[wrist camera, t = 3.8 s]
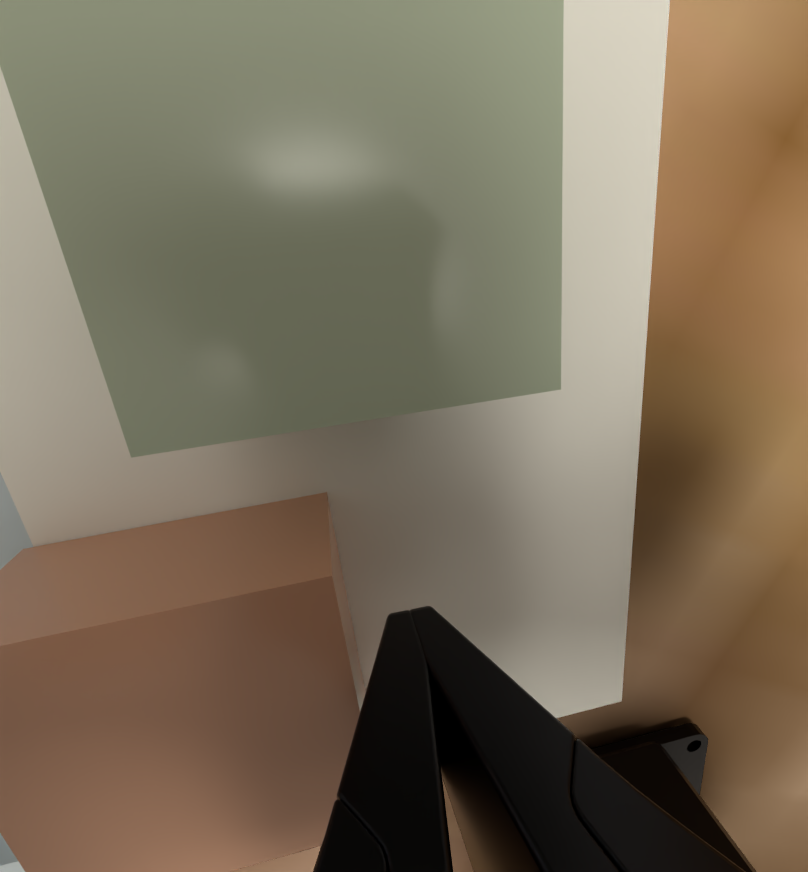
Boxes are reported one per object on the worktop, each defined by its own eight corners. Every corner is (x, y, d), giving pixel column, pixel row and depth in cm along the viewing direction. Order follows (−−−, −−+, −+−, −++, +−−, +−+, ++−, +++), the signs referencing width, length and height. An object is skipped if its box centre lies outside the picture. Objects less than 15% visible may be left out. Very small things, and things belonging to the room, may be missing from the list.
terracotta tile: (367, 699, 10) (383, 827, 8) (121, 760, 9) (57, 922, 7) (326, 491, 8) (332, 575, 6) (22, 548, 8) (-106, 668, 5)
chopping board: (578, 642, 13) (621, 701, 11) (180, 736, 12) (156, 821, 10) (596, -92, 8) (684, -207, 6) (-131, -85, 6) (-310, -231, 5)
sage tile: (489, 357, 8) (561, 389, 6) (189, 400, 7) (131, 457, 5) (472, -6, 6) (565, -172, 4) (81, 8, 6) (-82, -181, 3)
